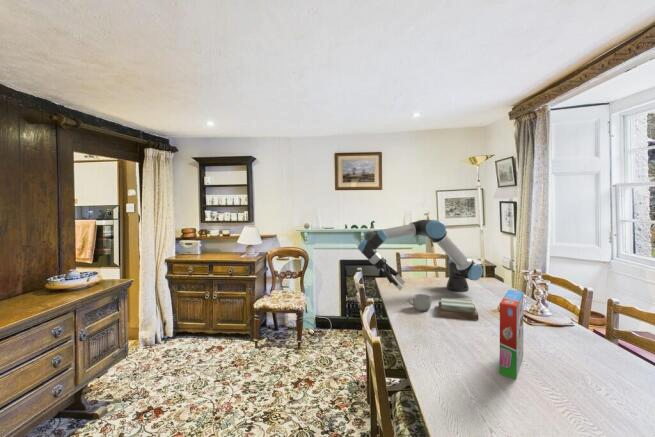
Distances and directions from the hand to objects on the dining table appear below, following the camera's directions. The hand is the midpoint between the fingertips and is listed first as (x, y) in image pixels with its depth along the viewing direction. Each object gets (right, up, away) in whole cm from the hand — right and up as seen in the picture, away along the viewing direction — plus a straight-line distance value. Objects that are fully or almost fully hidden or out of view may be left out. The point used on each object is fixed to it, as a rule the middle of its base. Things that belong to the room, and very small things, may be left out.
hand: (402, 286), depth 182 cm
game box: (+26, -16, -66) cm, 73 cm away
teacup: (+10, -14, -2) cm, 17 cm away
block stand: (+29, -13, -10) cm, 34 cm away
